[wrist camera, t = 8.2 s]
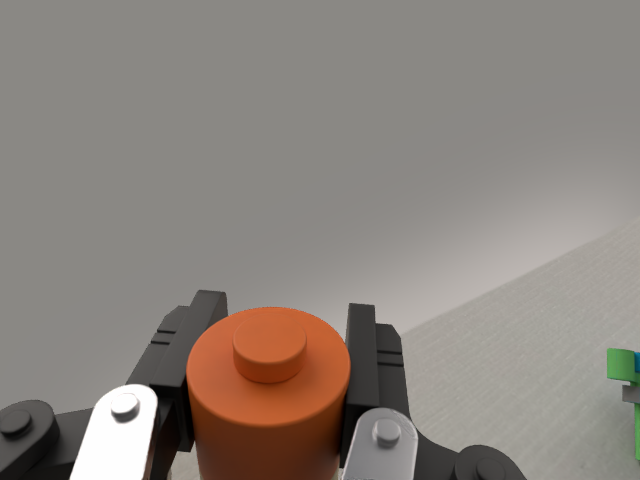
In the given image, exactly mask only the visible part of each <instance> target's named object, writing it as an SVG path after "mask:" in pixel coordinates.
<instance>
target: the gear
mask: <svg viewBox="0 0 640 480" xmlns="http://www.w3.org/2000/svg"><path fill="white" fill-rule="evenodd" d="M607 378H610V379H616V380H623V381H629V382H630V386H627V385H622V396H623V401H625V402H631V403H634V404H635V451H636V459H637V460H640V353H637V352H634V351H630V350H624V349H611V348H609V349H607Z"/></svg>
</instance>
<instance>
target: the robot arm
mask: <svg viewBox="0 0 640 480" xmlns="http://www.w3.org/2000/svg"><path fill="white" fill-rule="evenodd" d="M225 317H228V310H227V297H226V293H225V292H218V291H207V290H199V291H198V292H197V293H196V295H195V297H194V299H193V301H192V303H191V305H190V307H188V306H178V307H177V308H175V309H174V310H173V311H171V312H170V313H169V314H168V315H166V316H165V317H164V319H163V321H162V323H161V324H160V326H159V328H158V329H157V333H155V335H154V336H153V338H152V340H151V343H150V344H149V345H148V347H147V348H146V350H145V352H144V354H143V355H142V357H141V359H140V360H139V362H138V364H137V365H136V367H135V369H134V371H133V372H132V374H131V376H130V377H129V379H128V381H127V382H126V384H125V386H121V387H118V388H115V389H114V390H112V391H110V392H108V393H107V394H106V395H104V396H103V397H102V398H101V399H100V400H99V401H98V402H97V404H96V405H95V407H93V408H90V409H85V410H80V411H74V412H68V413H63V414H57V415H54V412H53V409H52V407H51V406H50V405H49V404H47V403H46V402H43V401H39V400H27V401H22V402H18V403H15V404H12V405H10V406H8V407H6V408H4V409H2V410H1V411H0V480H171V475H172V473H171V465H172V463H173V460H174V458H175V455H176V453H177V451H181V452H191V449H192V447H193V444H194V441H195V436H194V429H193V422H192V414H191V407H190V400H189V393H188V385H187V377H186V365H187V361H188V357H189V354H190V352H191V350H192V348H193V346H194V344H195V343H196V341H197V340H198V339H199V337H200V336H201V335H202V334H203V333H204V332H205V331H206V330H207V329H208V328H210V327H211V326H212V325H214V324H215V323H216V322H218V321H220V320H222V319H223V318H225ZM345 345H346V347H347V349H348V352H349V355H350V361H351V372H350V379H349V384H348V388H347V393H346V402H345V411H344V420H343V429H342V437H341V446H340V460H339V468H343V472H342V476H341V479H340V480H527V479H526V478H525V477H524V475H523V474H522V472H521V471H520V470H519V468H518V467H517V466H516V464H515V463H514V462H513V461H512V460H511V459H510V458H509V457H508V456H506V455H505V454H504V453H502V452H500V451H499V450H496V449H494V448H492V447H488V446H484V445H473V446H469V447H466V448H464V449H463V450H462V451H461V452H460V453H457V452H455V451H452V450H450V449H447V448H445V447H442V446H440V445H438V444H435V443H433V442H432V441H430V440H428V439H427V438H426V437H425V436H423V435H422V434H421V433H420V432H419V431H418V430H417V428H416V427H415V425H414V424H413V422H412V420H411V417H410V413H409V405H408V397H407V388H406V379H405V371H404V362H403V355H402V345H401V338H400V336H399V335H398V333H397V332H396V330H395V329H394V327H393V326H392V325H388V324H378V323H375V307H374V305H365V304H355V303H349V309H348V319H347V329H346V339H345Z"/></svg>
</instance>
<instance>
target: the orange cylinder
mask: <svg viewBox="0 0 640 480" xmlns="http://www.w3.org/2000/svg"><path fill="white" fill-rule="evenodd" d="M350 372H351V361H350V355H349V352H348V349H347V347H346V345H345V343H344V341H343V339H342V338H341V337H340V335H339V334H338V333H337V332H336V331H335V330H334V329H333V328H332V327H331V326H330V325H329V324H327V323H326V322H325V321H323V320H321V319H320V318H318V317H315V316H314V315H311V314H308V313H306V312H303V311H299V310H296V309H290V308H282V307H262V308H255V309H249V310H245V311H241V312H238V313H235V314H232V315H230V316H228V317H225V318H223V319H222V320H220V321H218V322H216V323H215V324H214V325H212V326H211V327H210V328H208V329H207V330H206V331H205V332H204V333H203V334H202V335H201V336H200V337H199V339H198V340H197V341H196V343H195V344H194V346H193V348H192V350H191V352H190V354H189V357H188V361H187V365H186V377H187V385H188V393H189V400H190V407H191V414H192V422H193V429H194V436H195V444H196V451H197V458H198V465H199V473H200V480H338V472H339V460H340V446H341V437H342V429H343V420H344V411H345V402H346V393H347V388H348V384H349V379H350Z"/></svg>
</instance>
